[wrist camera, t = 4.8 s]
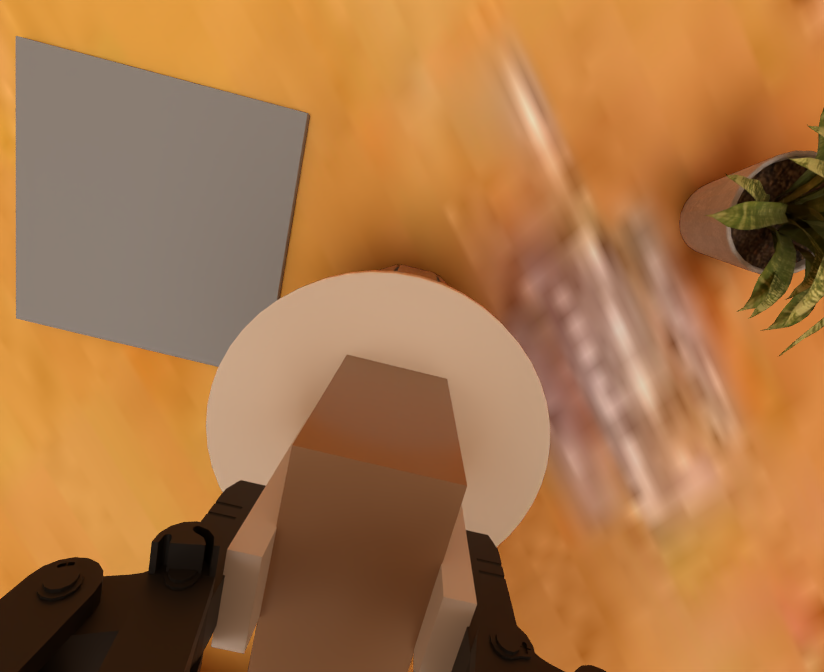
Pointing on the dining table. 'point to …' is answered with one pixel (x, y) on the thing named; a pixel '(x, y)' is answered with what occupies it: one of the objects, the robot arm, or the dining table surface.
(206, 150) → the mat
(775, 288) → the house plant
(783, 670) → the dining table surface
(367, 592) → the lid
